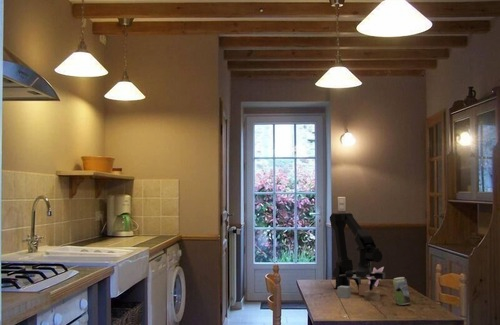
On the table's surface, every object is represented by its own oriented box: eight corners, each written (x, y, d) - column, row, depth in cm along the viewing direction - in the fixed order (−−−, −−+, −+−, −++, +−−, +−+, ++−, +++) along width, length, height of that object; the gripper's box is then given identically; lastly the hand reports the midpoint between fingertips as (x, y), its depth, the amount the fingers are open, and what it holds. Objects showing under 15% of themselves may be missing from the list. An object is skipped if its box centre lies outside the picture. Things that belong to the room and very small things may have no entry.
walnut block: (364, 300, 260) (364, 292, 260) (367, 298, 265) (367, 290, 266) (377, 301, 257) (377, 292, 258) (380, 299, 263) (380, 290, 263)
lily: (364, 285, 311) (359, 271, 308) (383, 276, 313) (378, 262, 310) (374, 295, 300) (369, 280, 297) (393, 286, 302) (389, 271, 299)
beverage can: (411, 306, 245) (410, 278, 246) (393, 305, 247) (393, 278, 247) (409, 303, 251) (409, 276, 252) (392, 303, 253) (392, 276, 253)
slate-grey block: (337, 297, 268) (337, 287, 268) (341, 296, 272) (341, 285, 273) (347, 298, 265) (347, 287, 266) (351, 296, 270) (350, 286, 270)
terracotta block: (359, 295, 274) (358, 284, 274) (362, 293, 279) (361, 283, 279) (369, 295, 272) (368, 285, 272) (372, 294, 276) (371, 283, 276)
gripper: (341, 261, 274) (341, 293, 273) (379, 263, 265) (379, 296, 264) (348, 258, 283) (349, 290, 282) (385, 260, 274) (386, 292, 273)
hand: (365, 292), depth 275 cm, fingers closed on terracotta block, 5 cm apart
